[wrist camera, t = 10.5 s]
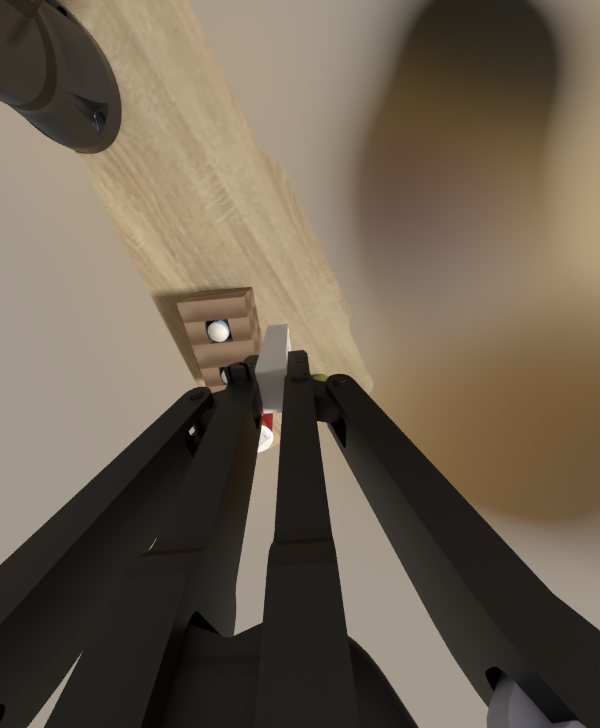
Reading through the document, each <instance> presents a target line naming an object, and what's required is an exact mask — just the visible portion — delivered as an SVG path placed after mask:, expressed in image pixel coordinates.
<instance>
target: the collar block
mask: <svg viewBox="0 0 600 728" xmlns="http://www.w3.org/2000/svg"><path fill="white" fill-rule="evenodd" d="M176 304H177V306H178V309H179V312H180V315H181V318H182V320H183V323H184V326H185V329H186V331H187V334H188V337H189V340H190V343H191V345H192V348H193V351H194V354H195V357H196V359H197V362H198V365H199V368H200V371H201V373H202V376H203V379H204V382H205V384H206V387H208V388H209V389H211V392H212V393H214V392H218V391H221V390H224V389H225V388H226V386H227V383H225V382H224V381H223V380H222V377H221V374H222V372H223V369H224V368H225V367H226V366H228V365H230V364H232V363H235V362H243V361H244V359H246V358H247V357H248V356H250V355H259V354H260V351H261V347H262V338H261V333H260V327H259V322H258V317H257V311H256V306H255V300H254V295H253V289H252V287H248V288H238V289H227V290H217V291H206V292H197V293H195V294H193V295H191V296H190V297H188V298H186V299H184V300H182V301H180V302H178V303H176ZM223 319H228V323H229V327H230V331H231V333H230V334H229V336H228V337H227V339H226V340H224V341H222V342H217V341H214V340H212V339H211V338H210V337H209V335H208V327H209V326H210V325H211V324H212V323H213V322H214V321H215V320H223Z"/></svg>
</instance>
